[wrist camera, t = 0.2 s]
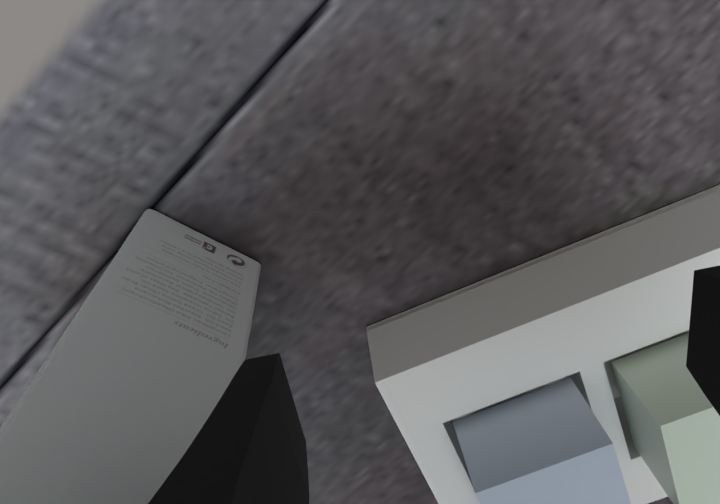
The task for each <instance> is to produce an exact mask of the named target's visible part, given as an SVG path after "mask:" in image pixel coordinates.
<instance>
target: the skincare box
mask: <svg viewBox="0 0 720 504" xmlns="http://www.w3.org/2000/svg"><path fill="white" fill-rule="evenodd" d="M260 270H261V265H260V263H258V262H257V261H255V260H253V259H251V258H249V257H247V256H245V255H243V254H241V253H239V252H237V251H235V250H233V249H231V248H229V247H227V246H225V245H223V244H221V243H219V242H216V241H215V240H213V239H211V238H209V237H207V236H205V235H203V234H201V233H199V232H196V231H194V230H192V229H191V228H189V227H187V226H185V225H183V224H181V223H179V222H177V221H175V220H173V219H171V218H169V217H167V216H165V215H163V214H161V213H159V212H157V211H155V210H153V209H147V210H146V211H145V212H144V213H143V215H142V216H141V218H140V219H139V221H138V222H137V224H136V225H135V227H134V228H133V230H132V231H131V233H130V234H129V236H128V237H127V239H126V240H125V242H124V243H123V245H122V246H121V248H120V249H119V251H118V252H117V254H116V256H115V257H114V259H113V260H112V262H111V263H110V264H109V266H108V267H107V269H106V270H105V272H104V273H103V275H102V276H101V278H100V279H99V281H98V282H97V284H96V285H95V287H94V288H93V289H92V291H91V292H90V294H89V295H88V297H87V298H86V300H85V301H84V303H83V304H82V306H81V307H80V309H79V310H78V312H77V313H76V315H75V317H74V318H73V320H72V321H71V323H70V324H69V326H68V327H67V328H66V330H65V331H64V333H63V334H62V336H61V337H60V339H59V341H58V342H57V344H56V345H55V347H54V348H53V350H52V351H51V353H50V354H49V356H48V357H47V359H46V360H45V362H44V363H43V364H42V366H41V367H40V369H39V370H38V372H37V374H36V375H35V377H34V378H33V380H32V381H31V382H30V384H29V385H28V387H27V388H26V390H25V391H24V393H23V394H22V396H21V397H20V399H19V401H18V402H17V403H16V405H15V406H14V408H13V409H12V411H11V412H10V414H9V415H8V417H7V418H6V420H5V421H4V423H3V424H2V425H1V427H0V504H148V503H149V502H150V500H151V499H152V498H153V496H154V495H155V493H156V492H157V491H158V489H159V488H160V487H161V485H162V484H163V483H164V481H165V480H166V479H167V477H168V476H169V474H170V473H171V472H172V470H173V469H174V468H175V466H176V465H177V464H178V462H179V461H180V459H181V458H182V456H183V455H184V454H185V452H186V451H187V449H188V448H189V446H190V445H191V443H192V442H193V440H194V439H195V437H196V436H197V434H198V433H199V431H200V430H201V428H202V426H203V425H204V423H205V422H206V420H207V419H208V417H209V416H210V414H211V413H212V411H213V409H214V408H215V406H216V405H217V403H218V401H219V400H220V398H221V397H222V395H223V393H224V392H225V390H226V388H227V387H228V385H229V384H230V382H231V380H232V379H233V377H234V375H235V374H236V372H237V371H238V369H239V367H240V366H241V365H242V363H243V362H244V360H245V357H246V352H247V346H248V340H249V335H250V329H251V323H252V317H253V311H254V306H255V300H256V293H257V288H258V282H259V276H260Z"/></svg>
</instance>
